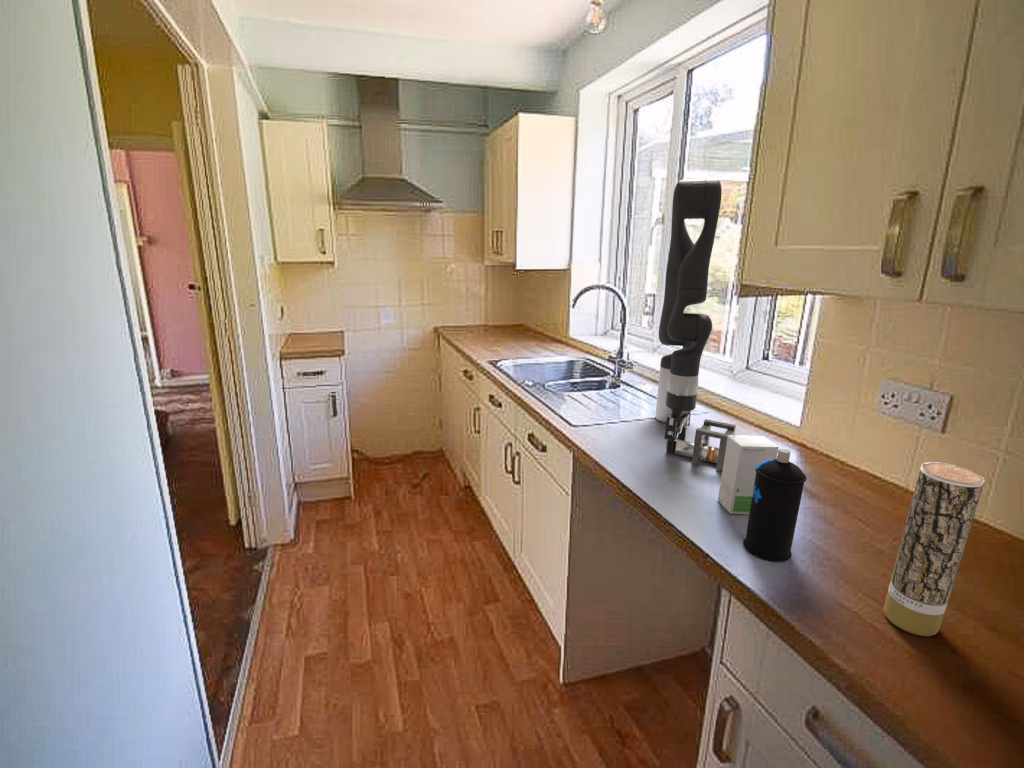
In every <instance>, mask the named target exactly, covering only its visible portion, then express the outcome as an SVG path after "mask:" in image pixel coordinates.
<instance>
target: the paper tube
mask: <svg viewBox="0 0 1024 768" xmlns="http://www.w3.org/2000/svg"><path fill="white" fill-rule="evenodd" d="M915 483H916V484H915V487H914V491H913V495H912V498H911V502H910V506H909V508H908V509H909V510H908V514H907V516H906V521H905V525H904V527H903V533H902V535H901V536H902V537H901V540H900V544H899V548H898V551H897V555H896V559H895V563H894V567H893V570H892V575H891V578H890V581H889V585H888V589H887V590H888V591H887V594H886V598H885V601H884V602H885V603H884V605H883V612H884V614H885V616H886V618H887V620H889V622H891V624H893V625H894V626H895V627H897V628H898V629H901V630H903V631H904V632H907V633H909V634H912V635H915V636H921V637H931V636H934V635H936V634H938V633H939V631H940V629H941V626H942V622H943V620H944V619H943V618H944V615H945V613H946V610H947V606H948V603H949V599H950V596H951V593H952V590H953V587H954V584H955V583H954V582H955V580H956V576H957V573H958V570H959V567H960V563H961V560H962V557H963V554H964V551H965V547H966V543H967V540H968V537H969V533H970V530H971V527H972V524H973V520H974V517H975V515H976V511H977V508H978V505H979V501H980V498H981V495H982V491H983V488H984V485H985V478H984V477H983V476H982V475H980V474H979V473H978V472H976V471H973V470H971V469H968V468H965V467H962V466H960V465H959V466H958V465H955V464H950V463H945V462H939V461H938V462H937V461H929V462H928V461H927V462H922V463H921V465H920V468H919V472H918V475H917V479H916V482H915Z"/></svg>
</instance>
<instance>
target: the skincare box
mask: <svg viewBox="0 0 1024 768" xmlns="http://www.w3.org/2000/svg"><path fill="white" fill-rule="evenodd" d="M778 449H780V447H779V446H778V445H777V444H775V443H774V442H772V441H771V440H770V439H768V438H767V437H765V436H763V435H762V436H761V435H749V434H743V435H728V436H727V445H726V452H725V458H724V465H723V471H722V472H721V478H720V484H719V491H718V497H717V500H718V502H719V503H720V504H721V505H722V506H723V508H724V509H725V510H726V511H727V512H728V513H729V514H730V515H749V513H750V507H751V501H752V494H753V488H754V482H755V476H756V471H755V467H756V466H757V465H758V464H760V463H762V462H764V461H766V460H770V459H777V455H778Z"/></svg>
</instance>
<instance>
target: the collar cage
mask: <svg viewBox="0 0 1024 768" xmlns="http://www.w3.org/2000/svg"><path fill="white" fill-rule="evenodd" d="M712 427H715V428H719V429H724V430H726V431H725V432H718V431H713V430H711V429H712ZM736 428H737V425H736V424H732V423H728V422H727V423H726V422H723V421H717V420H712V419H705V418H704V420H703V425H702V426H701V427H700V428H699V427H697V428H696V429H695V435H694V442H693V443H694V449H693V457H692V458H691V466H696V467H699V466H700V464H701V460H700V457H701V450H702V445H707V446H710V445H709V444H710V438H714V439H719V445H718V446H719V447H718V448H719V453H718V460H717V464H716V467H715V471H716V472H719V473H722V471H723V465H724V458H725V452H726V445H727V436H728V435H735V434H736Z"/></svg>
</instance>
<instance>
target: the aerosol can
mask: <svg viewBox="0 0 1024 768" xmlns="http://www.w3.org/2000/svg"><path fill="white" fill-rule="evenodd" d="M790 456H791V450H789V449H787V448H778V453H777V458H776V459H770V460H766V461H764V462H762V463H760V464H758V465H757V466H756V467H755V471H756V476H755V482H754V488H753V494H752V501H751V507H750V513H749V514H748V520H747V526H746V531H745V532H746V533H745V538H744V539H743V541H742V545H743V547H744V549H745V550H746V552H747V553H749V554H751V555H752V556H754V557H756V558H758V559H760V560H763V561H765V562H766V561H767V562H771V563H784V562H787V561H789V560H790V559H791V557H792V555H793V553H792V546H793V542H794V537H795V532H796V531H795V530H796V528H797V521H798V516H799V510H800V505H801V502H802V497H803V496H802V495H803V491H804V486H805V483H806V481H807V476H806V475H807V474H805V473H804V472H803V470H802V469H801V468H800V467H799V466H798V465H797V464H795V463H794V462H791V461H790V458H791V457H790Z"/></svg>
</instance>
